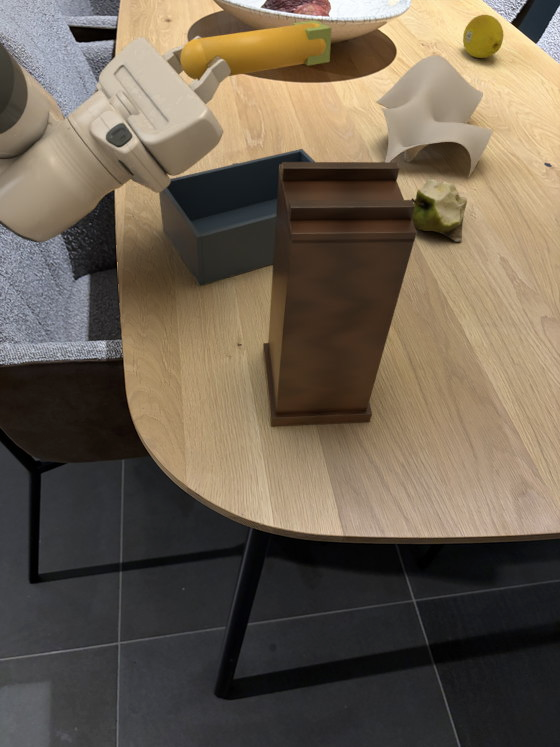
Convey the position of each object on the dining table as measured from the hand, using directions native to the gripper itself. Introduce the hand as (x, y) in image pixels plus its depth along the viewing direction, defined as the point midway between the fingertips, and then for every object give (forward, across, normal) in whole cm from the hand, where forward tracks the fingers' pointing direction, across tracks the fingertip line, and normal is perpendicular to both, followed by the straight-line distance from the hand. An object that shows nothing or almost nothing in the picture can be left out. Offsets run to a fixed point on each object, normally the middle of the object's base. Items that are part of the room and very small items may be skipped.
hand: (215, 53), depth 65 cm
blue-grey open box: (-8, 0, -25) cm, 26 cm away
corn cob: (+3, 0, -5) cm, 6 cm away
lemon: (+56, -38, -62) cm, 91 cm away
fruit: (+14, +8, -38) cm, 41 cm away
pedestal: (-13, +28, -22) cm, 38 cm away
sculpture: (+27, -13, -45) cm, 54 cm away
